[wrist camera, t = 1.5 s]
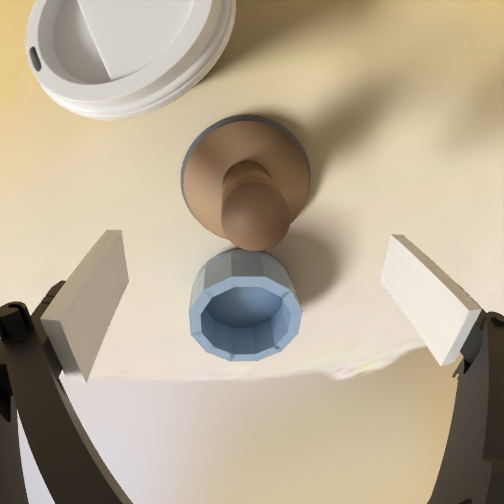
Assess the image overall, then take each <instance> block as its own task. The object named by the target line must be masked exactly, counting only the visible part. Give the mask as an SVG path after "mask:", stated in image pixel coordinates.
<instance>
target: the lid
mask: <svg viewBox="0 0 504 504" xmlns="http://www.w3.org/2000/svg"><path fill="white" fill-rule="evenodd" d="M308 190H309V171H308V167H307V163H306V160H305V158H304V156H303V154H302V152H301V150H300V149H299V147H298V146H297V144H296V143H295V142H294V141H293V140H292V139H291V138H290V137H289V136H288V135H286V134H285V133H284V132H282V131H280V130H279V129H277V128H275V127H273V126H270V125H268V124H265V123H261V122H257V121H237V122H232V123H228V124H225V125H223V126H220V127H218V128H216V129H215V130H213V131H211V132H210V133H209V134H207V135H206V136H205V137H204V138H203V139H202V140H201V141H200V142H199V143H198V144H197V146H196V147H195V149H194V150H193V152H192V153H191V155H190V157H189V159H188V162H187V165H186V168H185V173H184V193H185V197H186V201H187V204H188V206H189V208H190V210H191V212H192V214H193V215H194V216H195V218H196V219H197V220H198V221H199V222H200V224H201V225H202V226H204V227H205V228H206V229H207V230H209V231H210V232H212V233H213V234H215V235H217V236H220V237H222V238H225V239H228V240H230V241H231V242H232V243H233V244H234V245H236V246H237V247H239V248H242V249H245V250H249V251H260V250H265V249H268V248H270V247H272V246H274V245H276V244H277V243H278V242H279V241H281V240H282V238H283V237H284V236H285V234H286V233H287V231H288V229H289V226H290V224H291V223H292V222H293V221H294V219H295V218H296V217H297V216H298V214H299V213H300V211H301V210H302V208H303V206H304V204H305V201H306V198H307V195H308Z"/></svg>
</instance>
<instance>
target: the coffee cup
mask: <svg viewBox="0 0 504 504" xmlns="http://www.w3.org/2000/svg"><path fill="white" fill-rule="evenodd" d="M235 16H236V0H36V1H35V3H34V6H33V8H32V11H31V13H30V16H29V20H28V24H27V30H26V53H27V58H28V61H29V64H30V67H31V69H32V71H33V73H34V75H35V76H36V78H37V80H38V81H39V83H40V85H41V86H42V88H43V89H44V90H45V91H46V93H47V94H48V95H49V96H50V97H51V98H52V99H53V100H54V101H55V102H57V103H58V104H59V105H61V106H62V107H64V108H66V109H68V110H69V111H71V112H73V113H76V114H78V115H81V116H84V117H87V118H92V119H98V120H121V119H128V118H133V117H138V116H141V115H144V114H147V113H150V112H153V111H155V110H158V109H160V108H162V107H164V106H166V105H168V104H170V103H171V102H173V101H175V100H176V99H178V98H180V97H181V96H182V95H184V94H185V93H187V92H188V91H189V90H190V89H192V88H193V87H194V86H196V85H197V84H198V83H199V82H200V81H201V80H202V79H203V78H204V77H205V76H206V74H207V73H208V72H209V71H210V70H211V69H212V67H213V66H214V65H215V63H216V62H217V61H218V59H219V58H220V56H221V54H222V53H223V51H224V49H225V47H226V45H227V43H228V41H229V38H230V36H231V33H232V30H233V26H234V22H235Z"/></svg>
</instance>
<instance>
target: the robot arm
mask: <svg viewBox="0 0 504 504" xmlns="http://www.w3.org/2000/svg"><path fill="white" fill-rule="evenodd" d="M128 282H129V279H128V273H127V267H126V260H125V253H124V246H123V238H122V230H106V232H105V233H104V234H103V235H102V236H101V237H100V239H99V240H98V241H97V242H96V244H95V245H94V246H93V247H92V248H91V250H90V251H89V252H88V253H87V255H86V256H85V257H84V259H83V260H82V261H81V262H80V264H79V265H78V266H77V268H76V269H75V270H74V271H73V273H72V274H71V275H70V277H69V278H68V279H67V281H60V282H59V283H57V284H56V285H54V286H53V287H52V288H51V289H50V290H49V292H48V293H47V294H46V297H44V298H43V300H42V301H41V303H40V304H39V305H38V307H37V308H36V309H35V311H34V312H33V314H32V315H31V316H30V314H29V312H28V309H27V307H26V305H25V304H24V303H22V302H10V303H7V304H5V305H3V306H1V307H0V338H1V339H0V504H29V503H28V498H27V493H26V488H25V483H24V477H23V471H22V464H21V456H20V448H19V437H18V422H17V410H18V413H19V416H20V420H21V423H22V426H23V429H24V432H25V435H26V438H27V440H28V443H29V446H30V448H31V451H32V454H33V456H34V459H35V461H36V464H37V466H38V468H39V470H40V473H41V475H42V477H43V479H44V481H45V484H46V486H47V488H48V490H49V492H50V494H51V496H52V498H53V500H54V502H55V504H133V503H132V502H131V500H130V499H129V498H128V497H127V495H126V494H125V493H124V491H123V490H122V489H121V487H120V485H119V484H118V483H117V481H116V480H115V478H114V477H113V475H112V474H111V473H110V471H109V470H108V468H107V466H106V465H105V463H104V462H103V460H102V459H101V457H100V455H99V454H98V452H97V450H96V449H95V447H94V445H93V444H92V442H91V440H90V439H89V437H88V435H87V433H86V431H85V430H84V428H83V426H82V424H81V422H80V420H79V418H78V416H77V414H76V412H75V411H74V409H73V407H72V405H71V403H70V401H69V398H68V396H67V394H66V392H65V390H64V387H63V385H62V383H61V381H60V379H59V375H60V373H61V371H62V369H63V372H64V374H65V375H66V377H67V379H68V380H70V381H76V382H82V383H87V380H88V377H89V375H90V372H91V369H92V367H93V364H94V362H95V359H96V356H97V354H98V351H99V349H100V346H101V344H102V341H103V339H104V336H105V334H106V332H107V329H108V327H109V325H110V322H111V320H112V318H113V315H114V313H115V311H116V308H117V306H118V304H119V302H120V299H121V297H122V295H123V293H124V291H125V289H126V286H127V284H128ZM379 282H380V283H381V284H382V285H383V287H384V288H385V289H386V291H387V292H388V293H389V295H390V296H391V297H392V298H393V300H394V301H395V302H396V304H397V305H398V306H399V308H400V309H401V310H402V312H403V313H404V315H405V316H406V317H407V319H408V320H409V321H410V323H411V324H412V326H413V327H414V328H415V330H416V331H417V333H418V334H419V335H420V337H421V338H422V340H423V341H424V342H425V344H426V345H427V347H428V348H429V350H430V351H431V353H432V354H433V356H434V357H435V359H436V360H437V361H438V363H439V364H440V366H443V365H447V364H451V363H454V361H455V359H456V357H457V356H458V354H459V352H461V353H462V355H463V356H464V357H463V359H462V361H461V362H460V364H459V366H458V367H457V369H456V370H455V372H454V374H453V376H452V377H453V378H454V377H455V376H456V374H458V373H459V376H458V386H457V392H456V399H455V405H454V411H453V416H452V422H451V427H450V431H449V436H448V440H447V444H446V448H445V453H444V457H443V460H442V464H441V467H440V471H439V474H438V477H437V480H436V484H435V487H434V490H433V493H432V496H431V498H430V500H429V501H428V503H427V504H504V316H503V315H501V314H499V313H497V312H488V313H486V312H485V311H484V310H483V309H482V308H481V307H480V306H479V305H478V304H477V303H476V302H475V301H474V300H473V299H472V298H471V297H470V296H469V295H468V294H467V293H466V292H465V291H464V290H463V289H462V288H461V287H460V286H459V285H458V284H457V283H456V282H454V281H453V280H452V279H451V278H450V277H449V276H448V275H447V274H446V273H445V272H444V271H443V270H442V269H441V268H440V267H439V266H437V265H436V264H435V263H434V262H433V261H432V260H431V259H430V258H429V257H428V256H426V255H425V254H424V253H423V252H422V251H421V250H420V249H419V248H417V247H416V246H415V245H414V244H413V243H412V242H410V241H409V240H408V239H407V238H406V237H405V236H403V235H391V237H390V241H389V245H388V249H387V253H386V257H385V261H384V265H383V268H382V272H381V276H380V279H379Z"/></svg>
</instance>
